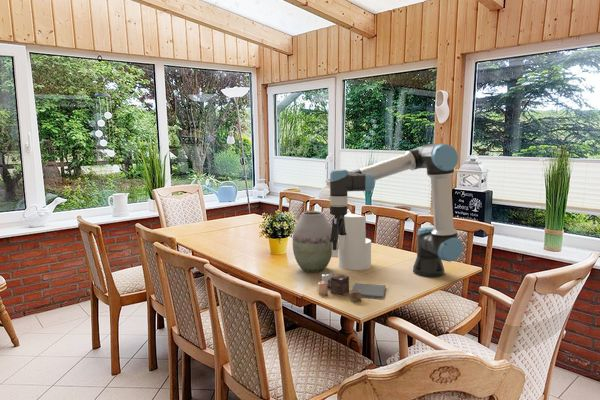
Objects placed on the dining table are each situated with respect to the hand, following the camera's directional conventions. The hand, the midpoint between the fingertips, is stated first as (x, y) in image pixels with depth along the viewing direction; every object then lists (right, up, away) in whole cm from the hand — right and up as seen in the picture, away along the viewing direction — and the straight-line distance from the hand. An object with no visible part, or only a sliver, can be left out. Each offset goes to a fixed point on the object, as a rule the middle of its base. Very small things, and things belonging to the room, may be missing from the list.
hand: (338, 253), depth 186 cm
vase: (-10, -13, +36) cm, 39 cm away
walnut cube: (+7, -19, -8) cm, 21 cm away
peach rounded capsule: (-7, -18, 0) cm, 19 cm away
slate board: (+13, -17, +1) cm, 22 cm away
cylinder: (+13, -12, +42) cm, 45 cm away
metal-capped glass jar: (-4, -17, +8) cm, 19 cm away
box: (+1, -18, +1) cm, 18 cm away
